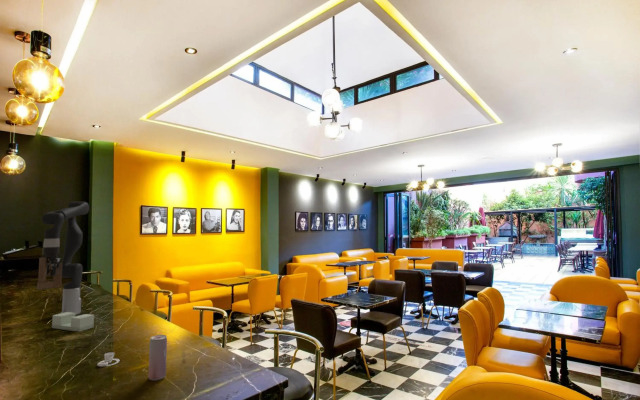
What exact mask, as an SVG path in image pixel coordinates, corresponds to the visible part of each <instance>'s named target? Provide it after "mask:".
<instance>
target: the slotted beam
mask: <svg viewBox="0 0 640 400" xmlns="http://www.w3.org/2000/svg"><path fill="white" fill-rule="evenodd" d="M75 314H76V313H72V312H65V313H62V312H61V313H58V314H57V313H56V314H53V315H52V320H51V321H52V323H51V328H52V329H55V330H57V329H58V330H64V331H71V332H72V331H73V332H83V331H86V330H89V329H92V328H94V325H95V323H94V322H95V314H90V313H85V314H81V315H79V314H78V315H77V314H76V315H75Z"/></svg>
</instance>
